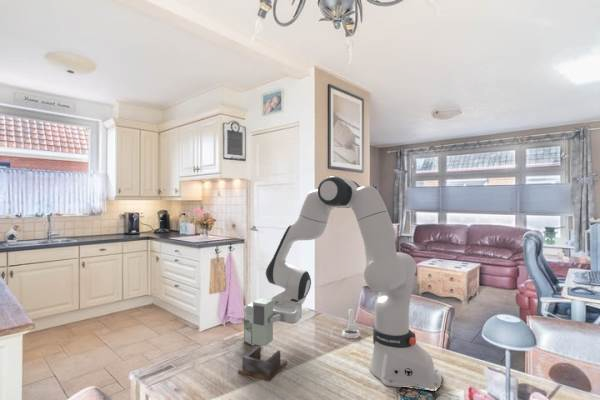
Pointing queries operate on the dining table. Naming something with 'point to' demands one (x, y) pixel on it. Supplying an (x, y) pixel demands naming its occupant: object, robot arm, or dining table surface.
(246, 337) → the syrup box
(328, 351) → the dining table surface
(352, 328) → the white vr controller
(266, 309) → the pale green block
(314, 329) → the dining table surface
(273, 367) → the bracket socket
